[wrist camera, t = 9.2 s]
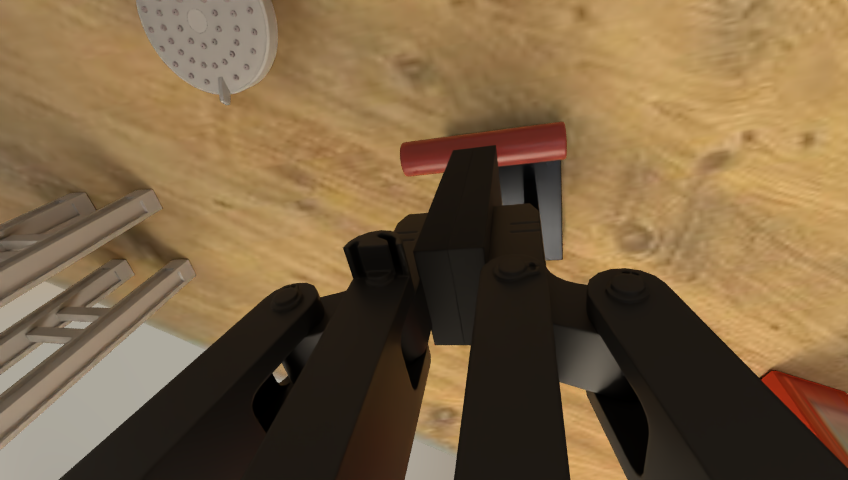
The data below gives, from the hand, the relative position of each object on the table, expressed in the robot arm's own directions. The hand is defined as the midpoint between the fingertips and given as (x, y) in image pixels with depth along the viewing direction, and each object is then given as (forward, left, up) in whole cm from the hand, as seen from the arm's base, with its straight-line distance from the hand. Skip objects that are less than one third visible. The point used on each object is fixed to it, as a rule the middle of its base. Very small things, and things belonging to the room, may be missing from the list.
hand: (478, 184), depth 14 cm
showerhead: (-4, -19, -20) cm, 28 cm away
